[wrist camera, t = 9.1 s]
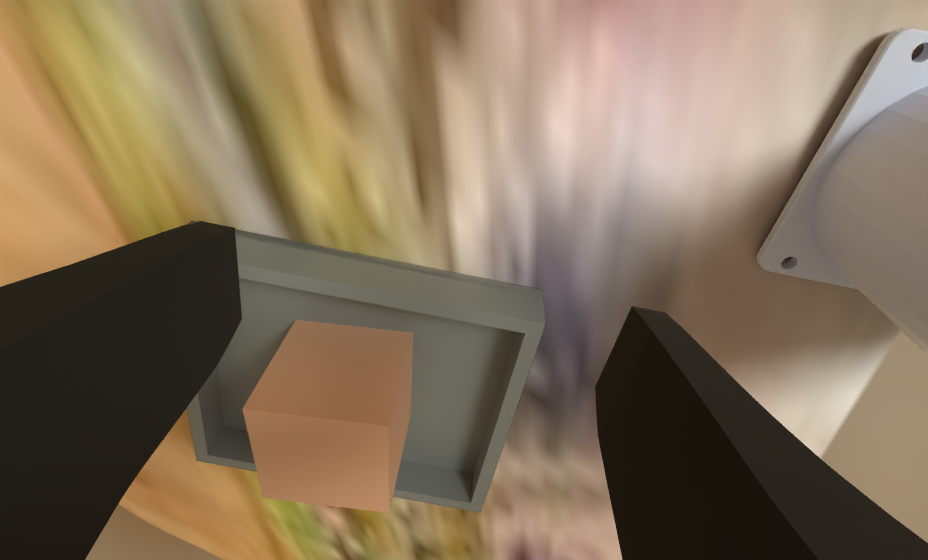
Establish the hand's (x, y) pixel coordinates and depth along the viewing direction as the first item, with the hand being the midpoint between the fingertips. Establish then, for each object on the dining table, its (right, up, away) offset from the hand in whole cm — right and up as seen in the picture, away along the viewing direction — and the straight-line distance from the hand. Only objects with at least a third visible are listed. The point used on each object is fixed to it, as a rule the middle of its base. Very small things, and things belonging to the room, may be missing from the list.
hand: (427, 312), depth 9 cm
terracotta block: (-4, -3, +13) cm, 14 cm away
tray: (-4, -3, +14) cm, 15 cm away
